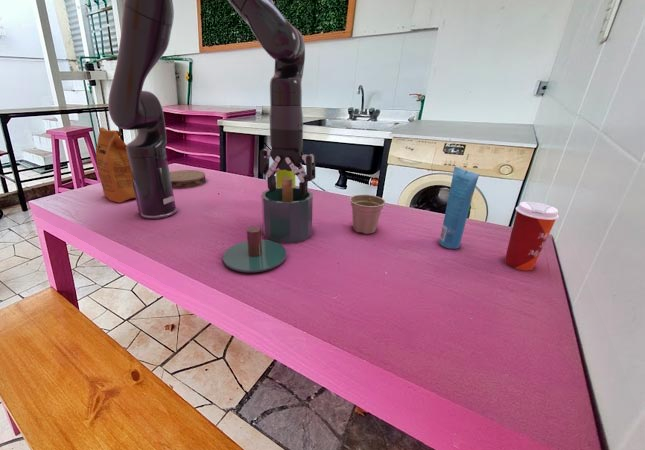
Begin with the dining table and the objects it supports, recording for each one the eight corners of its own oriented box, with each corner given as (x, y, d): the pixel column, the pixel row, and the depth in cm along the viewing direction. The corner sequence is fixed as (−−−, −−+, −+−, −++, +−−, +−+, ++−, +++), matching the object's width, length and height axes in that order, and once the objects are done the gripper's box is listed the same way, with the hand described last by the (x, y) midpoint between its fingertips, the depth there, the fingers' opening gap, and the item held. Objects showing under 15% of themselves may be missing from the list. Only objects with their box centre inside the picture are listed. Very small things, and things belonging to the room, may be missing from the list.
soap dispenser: (297, 203, 101) (297, 142, 93) (293, 210, 95) (293, 145, 86) (280, 201, 101) (278, 141, 93) (275, 209, 95) (273, 144, 87)
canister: (253, 236, 77) (251, 197, 73) (279, 219, 88) (278, 184, 83) (298, 247, 72) (298, 206, 68) (319, 227, 83) (320, 191, 79)
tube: (467, 249, 74) (487, 173, 66) (453, 253, 72) (472, 175, 64) (444, 237, 80) (460, 165, 72) (431, 240, 78) (445, 167, 71)
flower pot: (388, 229, 83) (392, 200, 80) (368, 240, 77) (372, 209, 74) (361, 220, 89) (363, 192, 86) (340, 229, 83) (342, 199, 79)
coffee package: (132, 189, 108) (116, 125, 99) (148, 197, 101) (133, 129, 92) (100, 196, 101) (80, 127, 92) (115, 205, 94) (95, 132, 85)
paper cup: (539, 277, 64) (562, 216, 58) (498, 266, 67) (516, 208, 62) (538, 261, 70) (559, 205, 64) (500, 252, 74) (517, 198, 68)
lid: (209, 265, 64) (205, 235, 61) (248, 239, 76) (246, 213, 73) (264, 281, 59) (262, 250, 56) (297, 251, 71) (296, 223, 68)
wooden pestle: (276, 231, 79) (274, 179, 73) (284, 225, 82) (283, 175, 77) (291, 235, 77) (290, 182, 71) (299, 228, 81) (299, 177, 75)
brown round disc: (176, 176, 126) (175, 169, 125) (212, 178, 124) (211, 171, 123) (152, 187, 111) (151, 179, 110) (193, 189, 110) (192, 181, 109)
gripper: (250, 125, 68) (255, 193, 75) (307, 130, 63) (306, 202, 70) (268, 122, 75) (271, 185, 81) (321, 127, 70) (319, 193, 76)
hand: (287, 193), depth 76 cm, fingers open, 8 cm apart
